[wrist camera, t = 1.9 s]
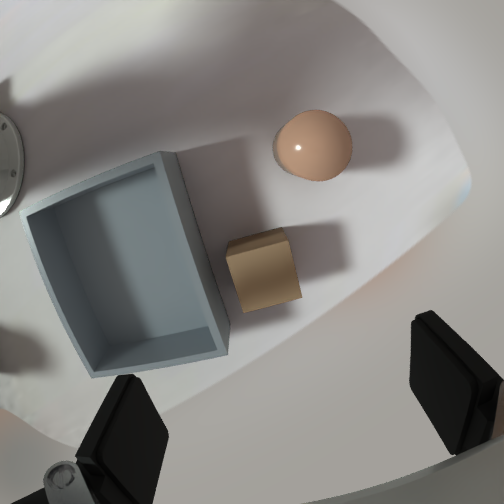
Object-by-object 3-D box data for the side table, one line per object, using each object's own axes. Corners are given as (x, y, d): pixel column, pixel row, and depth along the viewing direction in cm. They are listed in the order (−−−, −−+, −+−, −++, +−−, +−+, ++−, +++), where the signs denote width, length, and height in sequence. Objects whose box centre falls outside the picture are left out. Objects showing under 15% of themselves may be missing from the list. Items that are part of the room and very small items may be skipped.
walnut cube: (228, 241, 30) (225, 257, 25) (281, 227, 30) (288, 240, 25) (243, 289, 31) (243, 313, 27) (293, 276, 31) (302, 297, 26)
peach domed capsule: (266, 128, 27) (272, 118, 21) (319, 116, 27) (341, 104, 20) (280, 182, 29) (292, 188, 22) (333, 169, 28) (359, 172, 22)
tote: (50, 202, 28) (18, 211, 23) (175, 152, 28) (159, 151, 22) (109, 349, 33) (91, 378, 28) (230, 324, 32) (227, 354, 27)
